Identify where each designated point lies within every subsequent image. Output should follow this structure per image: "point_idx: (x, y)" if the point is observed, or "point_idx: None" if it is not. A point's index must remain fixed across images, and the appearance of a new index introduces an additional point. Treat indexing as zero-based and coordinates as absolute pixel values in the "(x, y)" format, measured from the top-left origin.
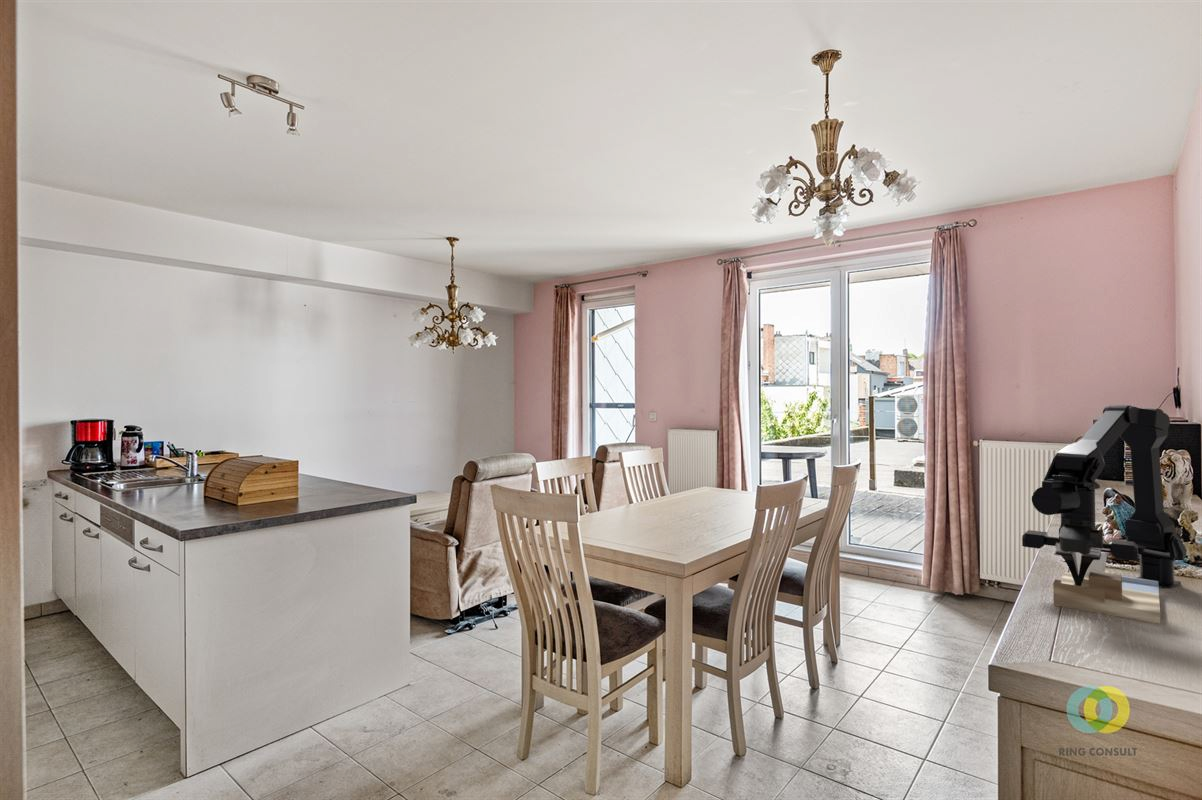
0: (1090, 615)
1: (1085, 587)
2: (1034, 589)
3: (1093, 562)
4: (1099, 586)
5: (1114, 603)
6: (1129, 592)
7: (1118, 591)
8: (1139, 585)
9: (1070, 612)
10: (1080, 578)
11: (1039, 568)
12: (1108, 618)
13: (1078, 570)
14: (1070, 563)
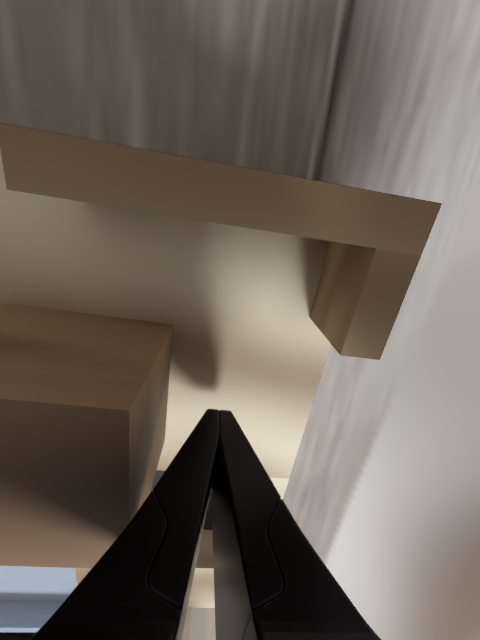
0: (178, 86)
1: (173, 182)
2: (365, 433)
3: None
4: (83, 352)
5: (26, 211)
6: None
7: None
8: (11, 584)
9: (279, 91)
10: (203, 442)
11: None
12: (85, 72)
13: (203, 635)
14: (296, 585)
